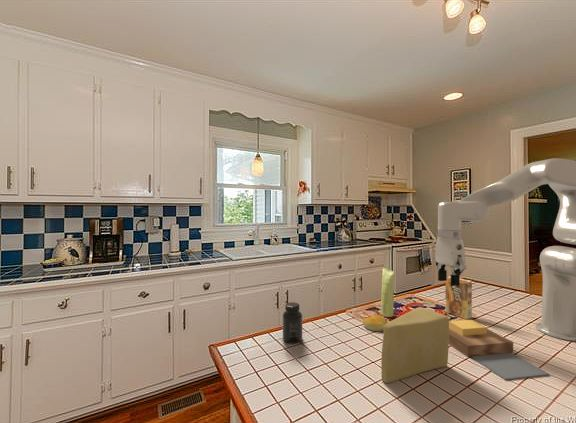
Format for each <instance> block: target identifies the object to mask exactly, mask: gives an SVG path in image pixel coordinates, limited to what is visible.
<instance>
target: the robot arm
mask: <svg viewBox="0 0 576 423" xmlns="http://www.w3.org/2000/svg"><path fill="white" fill-rule="evenodd" d="M543 185H548V186H549V187H550V188H551V189H552V191H554V193H555V194H556V195H557V197H558V200H559V209H558V213H557V216H556V218H555V222H554V226H553V229H552V236H553V238H554V239H555V240H556V241H559V242H561V243H564V244H570V245H576V160H572V159H568V158H567V159H565V158H559V157H558V158H555V157H553V158H549V159H544V160H539V161H538V160H537V161H532V162H531V163H528V164H525V165H524V166H522V167H520V168H519V169H517V170H515V171H514V172H512V173H510V174H508V175H507V176H505V177H503V178H502V179H500V180H498V181H496V182H493V183H492V184H489V185H486V186H485V187H483V188H481V189H478V190H476V191H474V192H472V193H470V194H468V195H466V196H465V197H463V198H461V199H459V200H458V201H441V202H439V203H438V204H437V238H436V244H435V256H434V257H433V261H434V263H435V266H436V270H437V280H438V281H439V282H446V280H447V274H448V272H447V271H448V270H447V267H450V270H451V274H450V276H451V283H450V284H451V286H459V285H460V279H461V278H460V276H461V275H462V273H463V272H464V271H465V270H467V268H468V267H467V265H466V250H465V245H464V240H463V239H462V237H463V234H462V221H463V222H470V223H471V222H472V223H473V222H474V223H475V222H476V223H479V222H482V221H485V220H486V219H487V218H488V217H489V214H490V209H489V207H492V206H496V205H501V204H506V203H509V202H513V201H515V200H517V199H519V198H521V197H523V196H525V195H527V194H528V193H530V192H532V191H533V190H535V189H537V188H538V187H540V186H543ZM539 263H540V268H541V274H542V295H541V297H542V298H541V300H542V301H541V322H538V323H536V324H535V328H536V329H537V330H538V331H539V332H541V333H542V334H546V335H548V336H550V337H552V338H553V337H554V338H556V339H560V340H566V341H570V342H572V341H573V342H576V248H575V247H569V246H563V245H552V246H547V247H545V248H544V249H542V251H541V252H540V255H539Z"/></svg>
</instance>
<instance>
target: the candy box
mask: <svg viewBox="0 0 576 423" xmlns="http://www.w3.org/2000/svg"><path fill="white" fill-rule="evenodd" d="M450 283H451V275H450V276H448V277H447V280H446V281H445V313H446V312H447V313H446V314H449V313H451V315H453V316H456V317H460V318H462V319H464V320H470V319H471V318H472V316H473V315H472V313H473V308H472V307H473V300H472V299H473V281H472V280H469V279H464V278H460V285H459V286H451V284H450Z"/></svg>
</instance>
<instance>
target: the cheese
mask: <svg viewBox="0 0 576 423" xmlns="http://www.w3.org/2000/svg"><path fill="white" fill-rule="evenodd" d="M449 321H450V319H449V317H448V316H447V315H445V314H442V313H440V312H437V311H434V310H431V309H428V308H425V307H422V306H421V307H419V306H418V307H416V308H414V309H412V310H410V311H409V312H408V311H407V312H406V313H404V314H402V315H400V316H398V317H396V318H394V319H392V320H390V321H387V323H386V324H385V326H384V330H383V336H382V345H381V348H382V349H381V363H380V364H381V381H382V382H383V383H385V384H390V383H393V382H397V381H401V380H402V379H405V378H408V377H411V376H414V375H418V374H422V373H425V372H427V371H432V370H436V369H440V368H444V367H447V366H448V364H449V362H448V360H449V346H450V345H449Z"/></svg>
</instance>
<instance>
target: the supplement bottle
mask: <svg viewBox="0 0 576 423" xmlns="http://www.w3.org/2000/svg"><path fill="white" fill-rule="evenodd" d="M284 309H285V311H284V312H283V313H282V339H283V341H284V342H285V343H288V344H297V343H300V342H301V341H302V340H303V313H302V312H301V311H300V304H299V303H298V302H296V301H295V302H293V301H292V302H291V301H290V302H286V303H285V308H284Z"/></svg>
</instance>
